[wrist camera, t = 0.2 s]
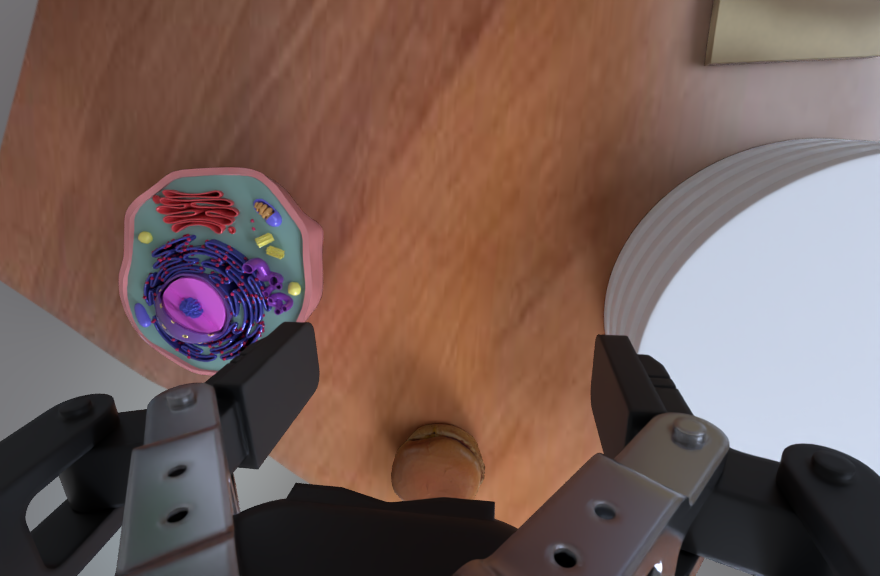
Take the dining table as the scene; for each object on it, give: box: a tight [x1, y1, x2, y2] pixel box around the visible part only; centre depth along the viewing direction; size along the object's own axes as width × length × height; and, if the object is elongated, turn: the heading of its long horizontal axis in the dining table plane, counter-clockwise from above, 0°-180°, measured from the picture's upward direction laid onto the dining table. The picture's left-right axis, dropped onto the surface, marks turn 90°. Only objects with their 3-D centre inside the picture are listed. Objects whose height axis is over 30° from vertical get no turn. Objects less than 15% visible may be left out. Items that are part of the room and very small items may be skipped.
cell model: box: [119, 167, 324, 376], centre depth 40 cm, size 17×20×11 cm
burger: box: [391, 424, 485, 501], centre depth 48 cm, size 10×9×5 cm
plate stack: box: [604, 138, 880, 476], centre depth 34 cm, size 28×28×12 cm
